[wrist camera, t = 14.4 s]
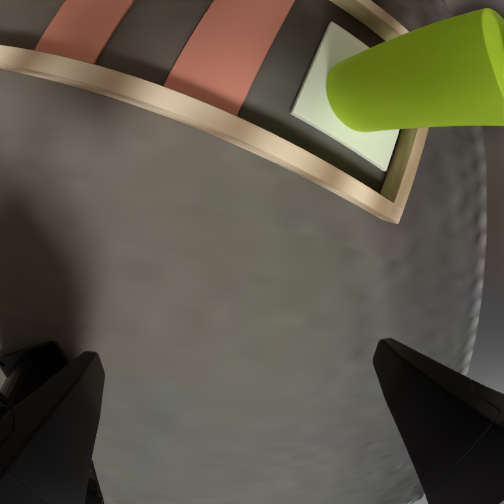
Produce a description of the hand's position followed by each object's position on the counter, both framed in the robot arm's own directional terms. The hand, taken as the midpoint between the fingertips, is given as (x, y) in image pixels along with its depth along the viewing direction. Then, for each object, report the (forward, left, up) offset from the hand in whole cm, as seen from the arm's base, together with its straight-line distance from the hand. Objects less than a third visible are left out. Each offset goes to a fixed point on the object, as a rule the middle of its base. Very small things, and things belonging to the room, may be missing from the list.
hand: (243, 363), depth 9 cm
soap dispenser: (+15, +9, -11) cm, 21 cm away
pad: (+15, +8, -12) cm, 21 cm away
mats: (+3, +18, -12) cm, 21 cm away
